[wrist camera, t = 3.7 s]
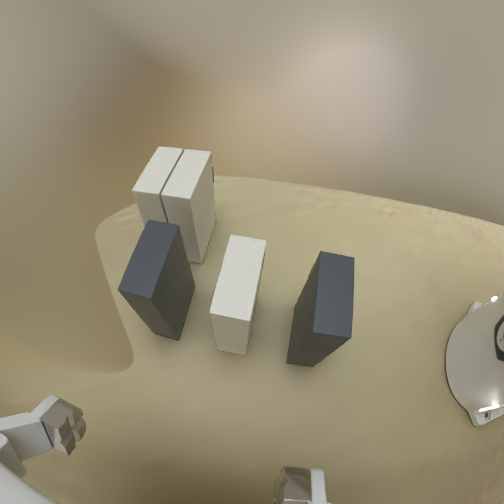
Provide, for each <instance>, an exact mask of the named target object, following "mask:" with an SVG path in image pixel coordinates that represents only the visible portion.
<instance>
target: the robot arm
mask: <svg viewBox="0 0 504 504" xmlns="http://www.w3.org/2000/svg"><path fill="white" fill-rule="evenodd" d="M491 299H492V300H491V301H489V302H487V303H485V304H484V303H482V302H480V301H476V302H474V303H472V304H471V305H470V307H469V310H468V312H467V315H466V316H465V318H464V319H462V320H461V321H460V322H459V323H458V324H457V325H456V326H455V328H454V329H453V331H452V333H451V335H450V338H449V341H448V345H447V350H446V373H447V378H448V382H449V385H450V388H451V391H452V393H453V395H454V396H455V398H456V400H457V401H458V402H459V403H460V404H461V405H462V406H463V407H464V408H465V409H466V410H467V411H468V413H469V416H470V418H471V421H472V423H473V424H474V426H476V427H477V426H481V425H484V424H486V423H488V422H490V421H492V420H494V419H496V418H498V417H499V416H501V415H503V414H504V293H503V294H501V295H499V296H497V297H496V296H494V297H493V298H491ZM82 415H83V413H82V410H81V409H80V408H78V407H76V406H74V405H72V404H70V403H68V402H67V401H65V400H63V399H61V398H59V397H58V396H56V395H54V394H51V395H48V396H47V397H46V398H45V399H44V400H43V401H42V402H41V403H40V404H39V405H38V406H37V407H36V408H35V409H34V410H33V411H32V412H31V413H29V412H26V413H22V414H17V415H12V416H7V417H2V418H0V504H59V503H58V502H56V501H54V500H53V499H51V498H50V497H48V496H47V495H45V494H43V493H42V492H40V491H39V490H37V489H36V488H35V487H33V486H32V485H30V484H29V483H27V482H26V481H25V480H23V479H22V477H23V476H24V475H25V474H26V472H27V471H26V468H25V466H24V465H23V463H22V462H21V461H23V460H25V459H28V458H31V457H33V456H36V455H38V454H41V453H43V452H46V451H48V450H51V449H53V448H55V449H57V450H58V451H60V452H62V453H64V454H66V455H68V456H69V455H70V454H71V452H72V451H73V450H74V448H75V447H76V443H75V442H76V441H79V440H81V439H82V438H83V436H84V434H85V431H86V424H85V421H84V420H83V418H82ZM273 497H274V498H275V499H276V500H275V502H274V504H331V502H327V501H326V489H325V479H324V471H323V469H309V468H298V467H285V466H284V467H282V469H281V473H280V476H278V477H277V480H276V482H275V486H274V492H273Z"/></svg>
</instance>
